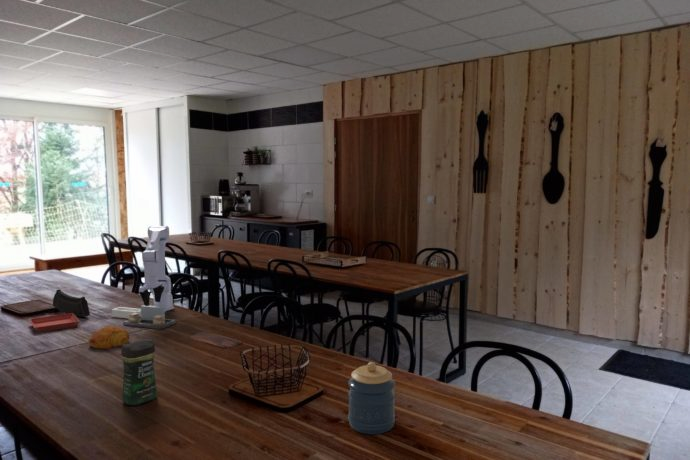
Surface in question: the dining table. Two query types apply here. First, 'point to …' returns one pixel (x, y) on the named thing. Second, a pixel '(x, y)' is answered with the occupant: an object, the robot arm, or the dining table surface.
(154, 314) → the chamfered blue-grey beam
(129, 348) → the coffee jar
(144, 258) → the robot arm
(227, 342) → the wooden tablet
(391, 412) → the canister
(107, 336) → the croissant
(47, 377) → the dining table surface
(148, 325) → the rack
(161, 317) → the birch offcut
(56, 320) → the plant saucer
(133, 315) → the birch offcut stack
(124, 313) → the holder
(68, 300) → the magazine
